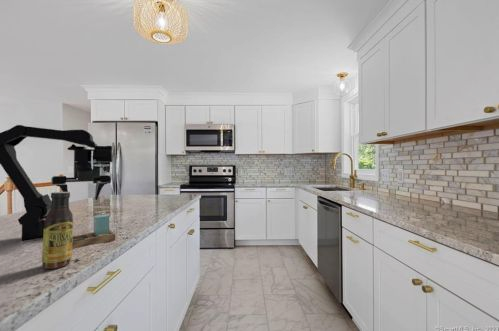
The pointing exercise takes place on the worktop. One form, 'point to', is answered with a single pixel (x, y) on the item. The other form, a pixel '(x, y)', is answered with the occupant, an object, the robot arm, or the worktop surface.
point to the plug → (101, 225)
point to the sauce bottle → (58, 233)
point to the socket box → (91, 239)
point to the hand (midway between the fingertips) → (82, 201)
